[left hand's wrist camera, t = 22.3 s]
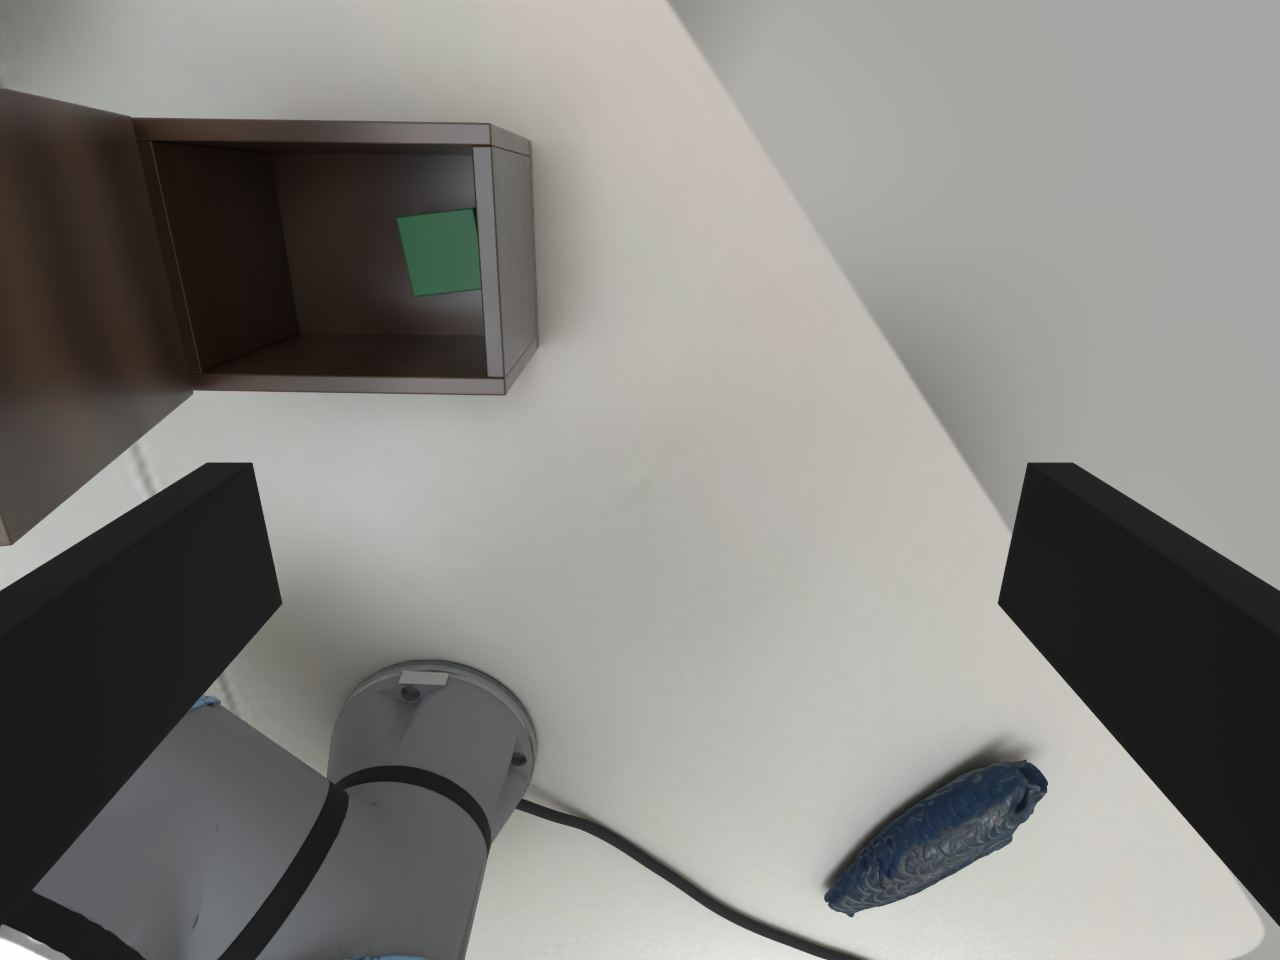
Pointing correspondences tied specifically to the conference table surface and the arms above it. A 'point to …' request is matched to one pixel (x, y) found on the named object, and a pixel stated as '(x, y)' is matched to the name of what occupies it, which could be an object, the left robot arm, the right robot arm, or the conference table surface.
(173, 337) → the lid
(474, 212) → the block
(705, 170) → the conference table surface
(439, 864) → the left robot arm
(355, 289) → the chest
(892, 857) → the fish model
